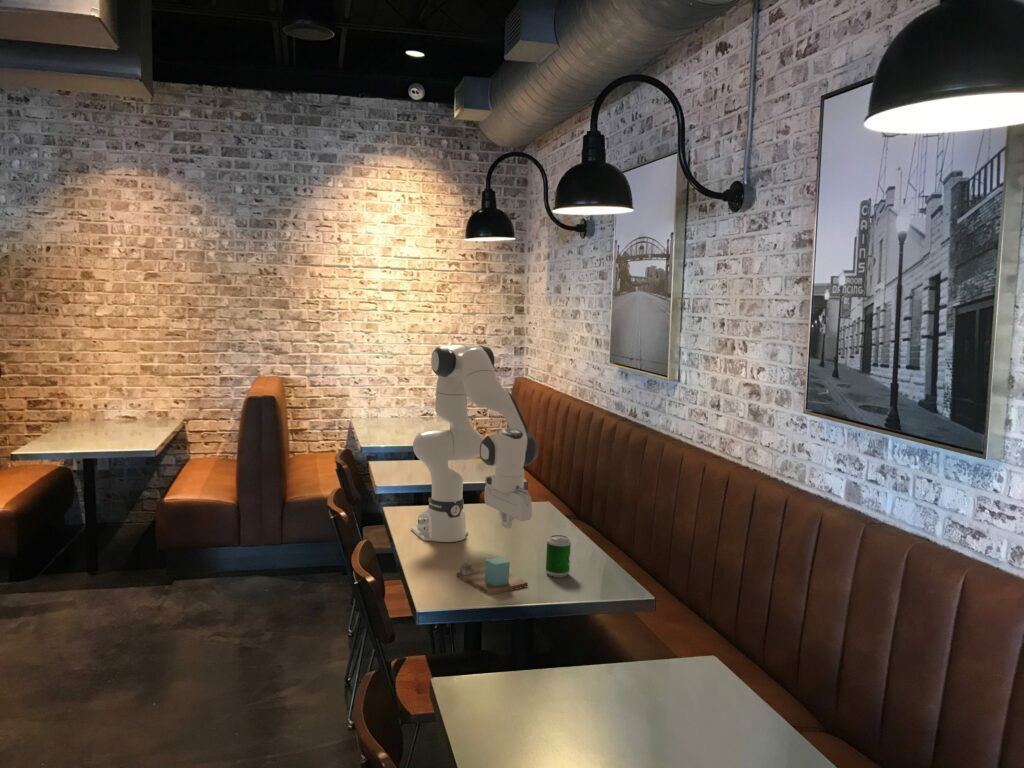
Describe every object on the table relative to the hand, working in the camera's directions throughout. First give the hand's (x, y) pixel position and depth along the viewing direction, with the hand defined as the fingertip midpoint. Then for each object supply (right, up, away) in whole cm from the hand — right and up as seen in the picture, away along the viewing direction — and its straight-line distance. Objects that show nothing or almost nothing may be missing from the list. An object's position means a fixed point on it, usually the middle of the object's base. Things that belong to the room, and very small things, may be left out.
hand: (506, 526), depth 246 cm
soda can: (+16, -17, +10) cm, 26 cm away
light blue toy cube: (-3, -16, -3) cm, 17 cm away
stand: (-5, -17, +1) cm, 18 cm away
